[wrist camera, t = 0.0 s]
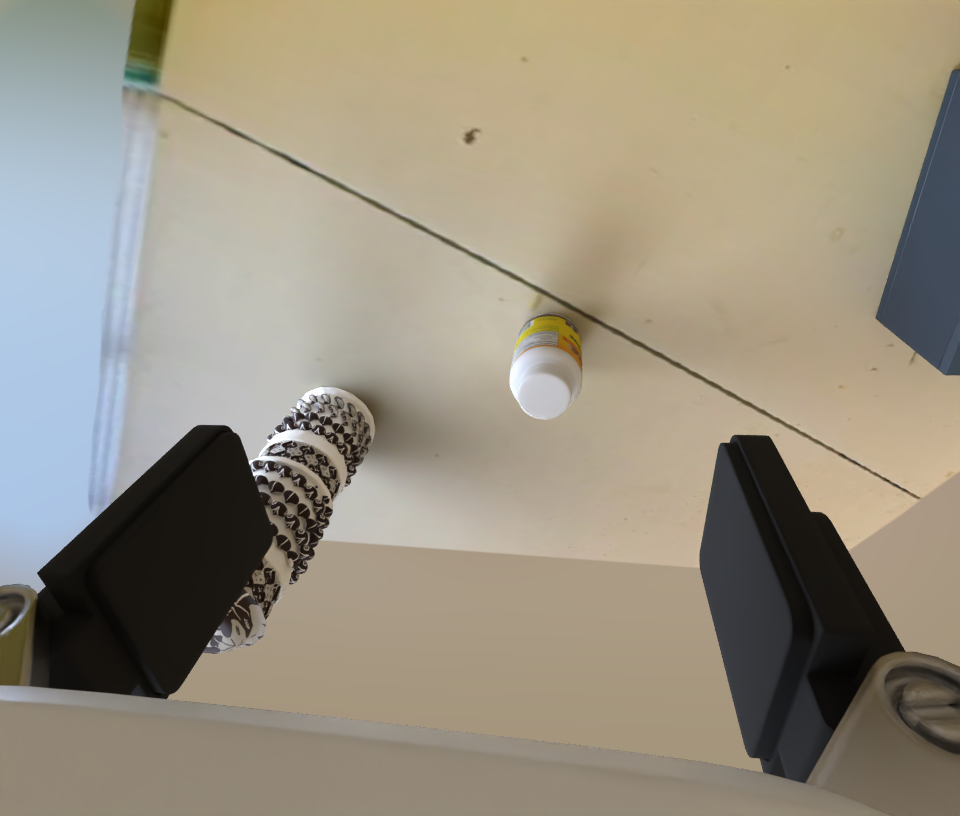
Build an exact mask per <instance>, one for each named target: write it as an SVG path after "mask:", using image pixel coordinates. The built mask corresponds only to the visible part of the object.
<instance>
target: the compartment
mask: <svg viewBox="0 0 960 816" xmlns="http://www.w3.org/2000/svg"><path fill="white" fill-rule="evenodd" d="M959 316H960V70H953V71H952V73H951V76H950V80H949V83H948V86H947V89H946V93H945V96H944V99H943V102H942V105H941V109H940V112H939V115H938V118H937V122H936V125H935V128H934V131H933V134H932V138H931V141H930V144H929V147H928V151H927V154H926V157H925V160H924V163H923V167H922V170H921V173H920V176H919V180H918V183H917V186H916V189H915V192H914V196H913V199H912V202H911V205H910V209H909V212H908V215H907V218H906V221H905V225H904V228H903V231H902V234H901V238H900V241H899V244H898V247H897V250H896V254H895V257H894V260H893V263H892V267H891V270H890V273H889V276H888V280H887V283H886V286H885V289H884V292H883V296H882V299H881V302H880V305H879V309H878V312H877V315H876V319H877V320H878V321H879V322H881V324H883V325H884V326H885V327H886V328H888V329H889V330H890V331H891V332H892V333H894V334H895V335H896V336H897V337H899V338H900V339H901V340H902V341H903V342H905V343H906V344H907V345H908V346H910V347H911V348H912V349H913V350H915V351H916V352H917V353H918V354H919V355H921V356H922V357H923V358H924V359H926V360H927V361H928V362H929V363H930V364H932V365H933V366H934V367H935V368H937V369H939V367H940V365H941V362H942V360H943V357H944V354H945V352H946V349H947V347H948V344H949V342H950V339H951V337H952V334H953V331H954V329H955V326H956V324H957V321H958V319H959Z"/></svg>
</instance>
